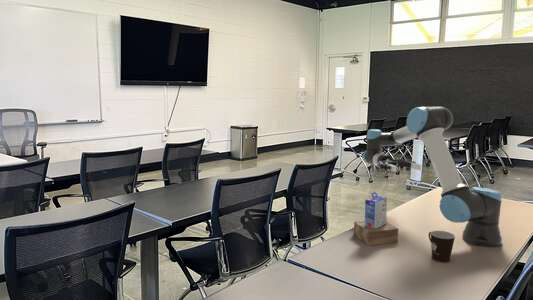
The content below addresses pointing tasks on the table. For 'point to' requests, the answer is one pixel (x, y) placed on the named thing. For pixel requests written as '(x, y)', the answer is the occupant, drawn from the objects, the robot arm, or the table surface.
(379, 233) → the walnut plinth
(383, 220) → the ink cartridge box
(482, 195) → the robot arm
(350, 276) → the table surface
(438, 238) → the coffee mug
